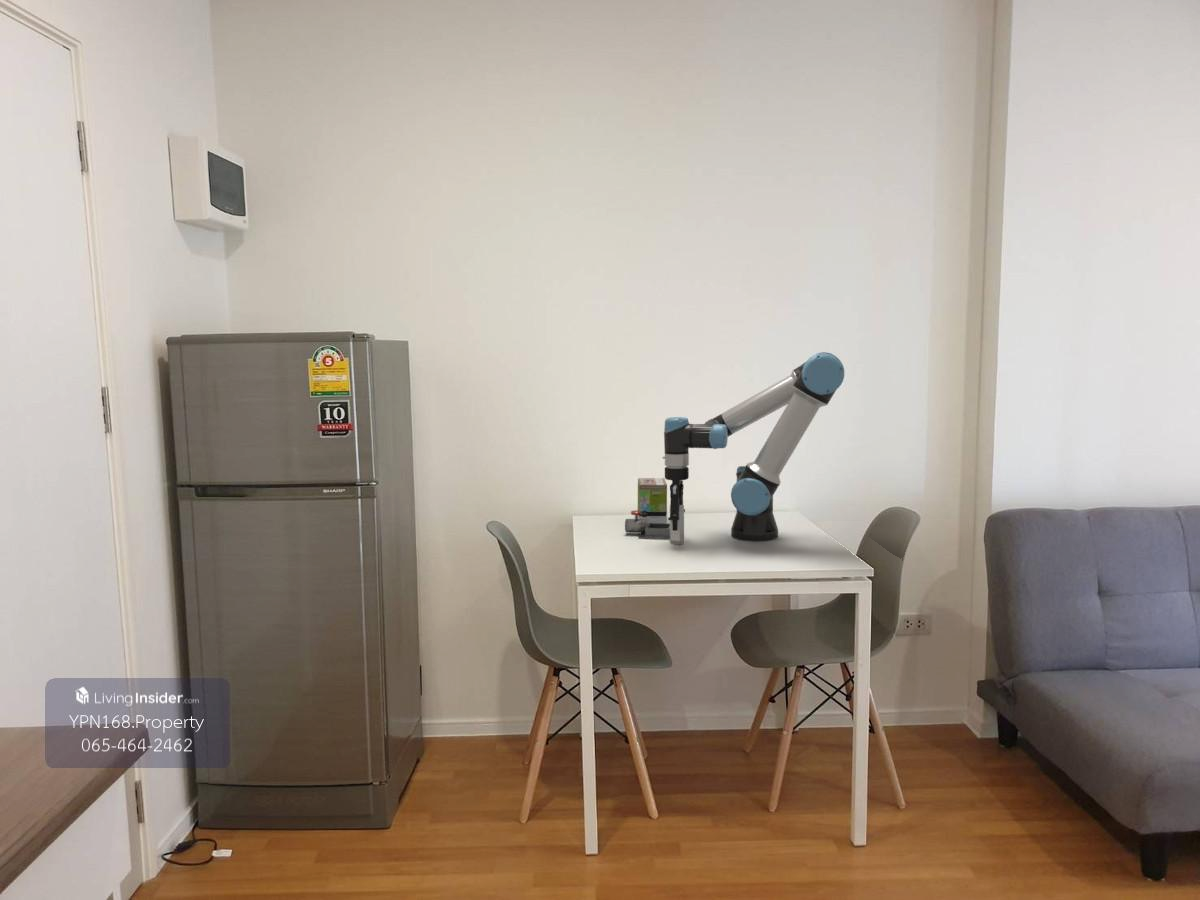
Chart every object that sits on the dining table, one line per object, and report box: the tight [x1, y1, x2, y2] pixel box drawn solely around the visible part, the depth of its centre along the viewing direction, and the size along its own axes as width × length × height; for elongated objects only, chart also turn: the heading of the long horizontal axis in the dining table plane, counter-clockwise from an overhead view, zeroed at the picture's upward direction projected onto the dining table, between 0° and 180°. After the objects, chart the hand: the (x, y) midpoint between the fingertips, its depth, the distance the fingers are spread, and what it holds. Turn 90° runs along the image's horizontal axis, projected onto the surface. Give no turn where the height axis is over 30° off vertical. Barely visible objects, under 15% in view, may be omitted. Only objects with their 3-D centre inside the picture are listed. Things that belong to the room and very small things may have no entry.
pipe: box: [669, 504, 685, 545], centre depth 271 cm, size 4×4×12 cm
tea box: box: [637, 477, 668, 524], centre depth 302 cm, size 15×10×15 cm
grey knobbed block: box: [624, 509, 670, 541], centre depth 282 cm, size 17×12×8 cm
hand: (677, 536), depth 271 cm, fingers open, 9 cm apart
